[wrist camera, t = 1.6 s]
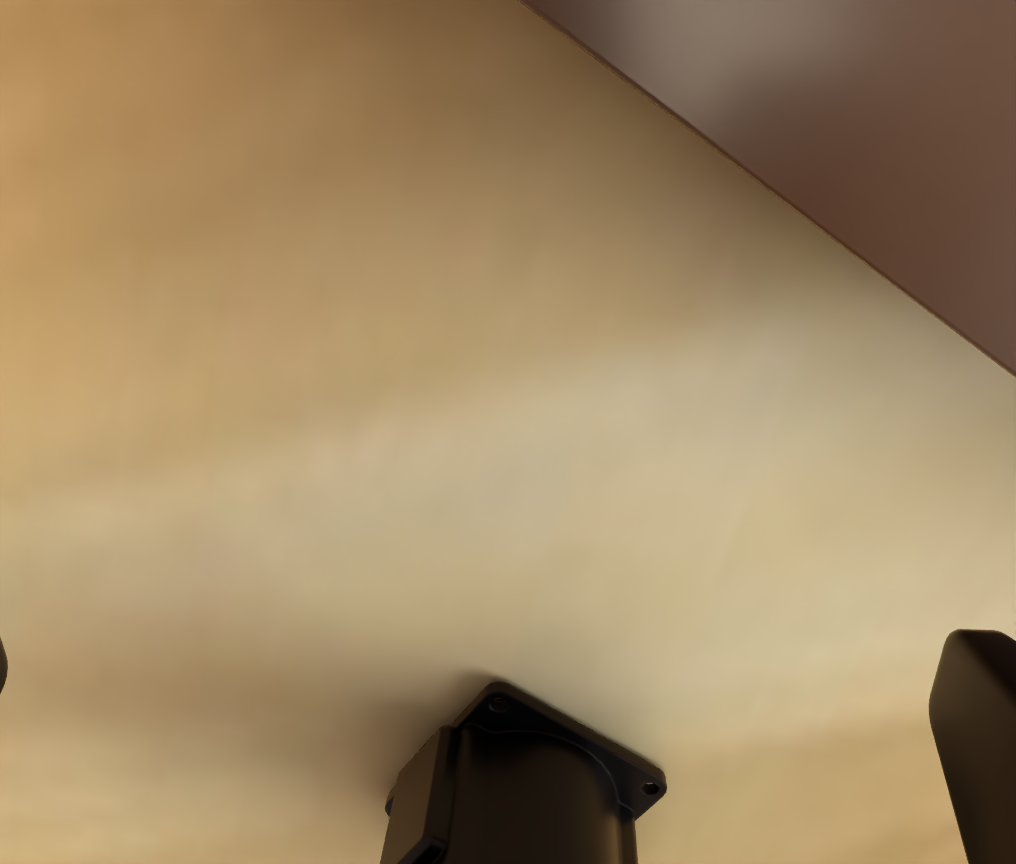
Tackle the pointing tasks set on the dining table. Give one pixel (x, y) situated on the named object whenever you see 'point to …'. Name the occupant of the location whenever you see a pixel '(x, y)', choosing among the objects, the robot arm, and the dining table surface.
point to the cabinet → (849, 125)
